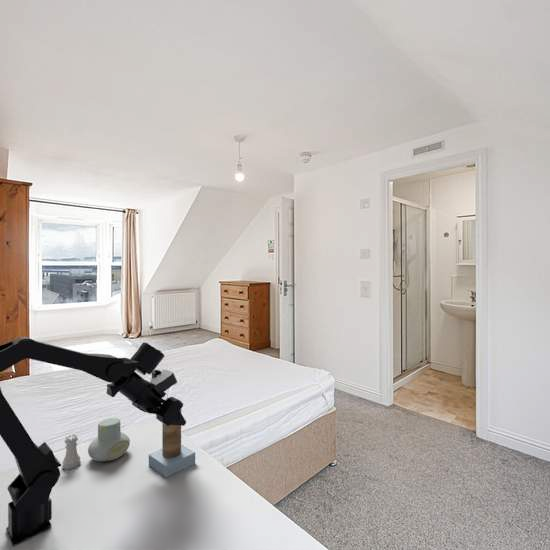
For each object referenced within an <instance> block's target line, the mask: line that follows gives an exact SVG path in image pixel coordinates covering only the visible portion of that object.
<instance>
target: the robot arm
mask: <svg viewBox="0 0 550 550" xmlns="http://www.w3.org/2000/svg"><path fill="white" fill-rule="evenodd" d="M164 358H165V354H164V353H163V352H162V351H161V350H159V349H157V348H156V347H154V346H152V345H150V343H148V342H145V341H144V342H142V343H141V345H140V346H139V347H138V349H137V351H136V352H135V353H134V354H133V355H132V356H131V358H128V357H116V356H113V355H111V354H105V353H88V352H80V351H76V350H73V349H69V348H65V347H61V346H59V345H55V344H50V343H45V342H44V341H43V342H42V341H38V340H35V339H32V338H30V337H28V336H19V337H17V338H16V339H13V340H11V341H8V342H6V343H3V344H0V373H2V372H5V371H6V370H8V369H9V368H11V367H13V366H15V365H16V364H18V363H19V362H22V361H23V360H26V359H29V360H33V361H37V362H42V363H46V364H51V365H55V366H60V367H65V368H69V369H73V370H76V371H77V370H78V371H81V372H83V373H86V374H88V375H91V376H93V377H95V378H97V379H99V380H102V381H104V382H106V383H107V384H106V394H107V395H108V396H109V397H111V398H114V397H116V395H117V394H118V393H120V394H121V395H123V396H124V397H125V398H127V399H128V400H129V401H130V402H131V405H132V406H133V407H135V408H136V409H138V410H140V411H142V412H144V413H148V414H150V415H151V414H153V415H156V416H155V419H156V420H157V421H159V422H161V423H162V424H165V425H167V426H169V425H180V426H181V427H182V426H183V427H184V426H186V424H187V420H186V419H185V418H184V416H183V414H182V409H183V407H184V403H183V401H182V400H180V399H178V398H176V397H173V396H170V397H167V398H166V399H165V398H164V397H165V396H166V395H167V393H166V392H167V390H169V389H170V388H171V387H173V386H174V385H176V384H178V380H177V378H176V375H175V373H174V372H173V371H171V370H168V369H162V370H160V369H156V368H157V367H158V366H159V365H160V363H161V361H162V360H163V359H164ZM138 373H139V374H141V375H143V376H146V375H151V378H150V379H151V380H149V381H148V380H146V379H145V378H143V377H142V376H141V375H139V374H138ZM180 410H181V412H180ZM0 437H1V439H2V440H3V441H4V443H5V445H6V446H7V448H8V449H9V450H10V452H11V453H12V455H13V456H14V460H15V463H16V467H17V470H18V472H19V473H18V475H17V476H16V477H15V478H14V480H13V481H12V482H11V483H10V484H9V485H8V486H7V491H8V494H9V496H10V498H11V500H12V501H10V502H8V504H7V509H8V510H7V514H8V515H7V518H8V519H7V524H8V526H7V527H6V528H5V531H6V534H7V536H8V539H9V541H10V543H11V545H12V546H16V545H19V544H20V543H22V542H24V541H27V540H29V539H30V538H32V537H35V536H37V535H39V534H41V533H43V532H45V531H47V530H49V529H51V528H52V523H51V519H52V515H53V513H52V512H53V511H52V510H53V509H52V508H53V507H52V506H53V505H52V503H53V502H52V499H51V498H50V496H51V493H52V490H53V488H54V487H55V486H56V484H57V483H58V481H59V479H60V477H61V471H60V467H62V463H61V462H60V461H59V460H58V458H57V457H56V456H55V455H54V451H53V450H52V448H51V447H50V446H49V445H48V444H47V442H46V441H44V442H43V443H41V444H40V445H39V446H38V445H37V444H36V443H35V442H34V441H33V439H32V437H31V436H30V435H29V433H28V431H27V430H26V428H25V427H24V425H23V424H22V422H21V421H20V419H19V418H18V416H17V415H16V412H15V411H14V410H13V408H12V407H11V405H10V403H9V401H8V400H7V398H6V397H5V395H4V394H3V391H2V387H0Z"/></svg>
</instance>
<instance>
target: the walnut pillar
mask: <svg viewBox="0 0 550 550" xmlns="http://www.w3.org/2000/svg"><path fill="white" fill-rule="evenodd" d="M180 412H181V413H182V409H181V410H180ZM161 429H162V432H161V433H162V441H161V444H162V445H161V446H162V448H161V449H162V456H163V457H165V458H174V457H177V456H179V455H180V454H181V445H182V426H180V425H169V426H167V425H165V424H163V423H162V428H161Z"/></svg>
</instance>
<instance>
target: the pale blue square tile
mask: <svg viewBox="0 0 550 550" xmlns="http://www.w3.org/2000/svg"><path fill="white" fill-rule="evenodd" d="M194 464H196V451H193V450H191V449H190V448H189V447H187V446H184V444H181V454H180V455H179V456H177V457H174V458H165V457H163V456H162V448H161V449H158V450H156V451H153V452H151V453H149V454H148V466H149V467H150V468H152V469H153V470H155V471H156V472H157V473H158V474H160V475H161V476H162V477H164V478H165V479H167V478H168V477H171V476H172V475H174V474H177V473H178V472H180V471H183V470H184V469H187V468H188V467H191V466H192V465H194Z"/></svg>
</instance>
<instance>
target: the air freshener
mask: <svg viewBox="0 0 550 550" xmlns="http://www.w3.org/2000/svg"><path fill="white" fill-rule="evenodd" d="M130 443H131V440H130V437H129V436H128V435H127V434H126V433H125V432H122V431H121V419H119V418H117V417H116V418H115V417H112V418H106V419H103V420H101V421H100V422H98V424H97V437H95V438H94V439H93V440H92V441H91V442H90V443H89V445H88V448H87V454H88V456H89V457H90V458H91V459H93V460H94V461H97V462H111V461H115V460H117V459H118V458H120V457H121V456H122V455H123V454H125V453H126V452H127V450H128V449H129V447H130Z"/></svg>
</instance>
